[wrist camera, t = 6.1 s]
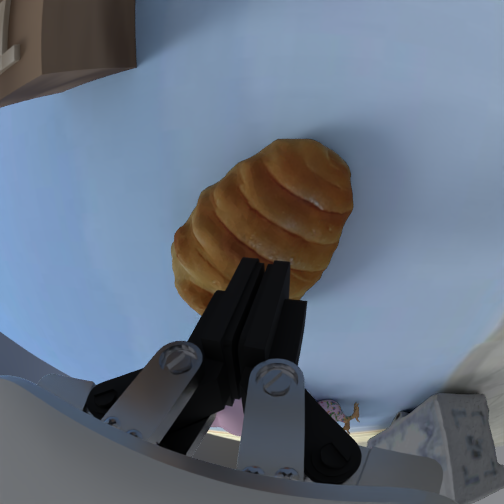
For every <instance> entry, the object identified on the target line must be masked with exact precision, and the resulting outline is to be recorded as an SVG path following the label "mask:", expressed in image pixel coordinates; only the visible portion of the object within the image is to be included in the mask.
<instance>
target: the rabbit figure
mask: <svg viewBox="0 0 504 504" xmlns="http://www.w3.org/2000/svg"><path fill="white" fill-rule="evenodd" d="M318 403H319V404H320V405H321V406H322V408H323V409H324V410H325V411H326V412H327V413H328V414H329V415H330V416H331V417H332V418H333V419H334V420H335V421H341V422H344V423H345V426H344V427H343V429H344V430H347V432H348V434H350V432H349V431H348V430H349V429H350V423H349V421H350V420H351V419H353V418H355V417H356V420H357V421H358V422H360V421H359V420H358V417H359V407H358V404H359V403H358V404H357V402H356V403H355V404H354V406H355V405H356V404H357V405H356V406H355V407H354V412H353V415H352V416H350V417H348V416H347V417H346V416H345V415H344V413H343V412H342V410H341V407H340V405H339V404H338V403H337V402H336V401H333V400H329V399H327V400H322V401H319V402H318ZM243 420H244V413H243V407H242V400H241V399H240V400H238V399H235V401H234V404H233V406H232V407H231V406H227V405H226V406H225V409H224V410H221V411H219V412H217V415H216V418H215V420H214V422H213V423H212V425H211V427H221V428H223V429H225V430H226V431H227V432H229V433H231V434H233V435H236V436H241V434H242V427H243Z"/></svg>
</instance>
